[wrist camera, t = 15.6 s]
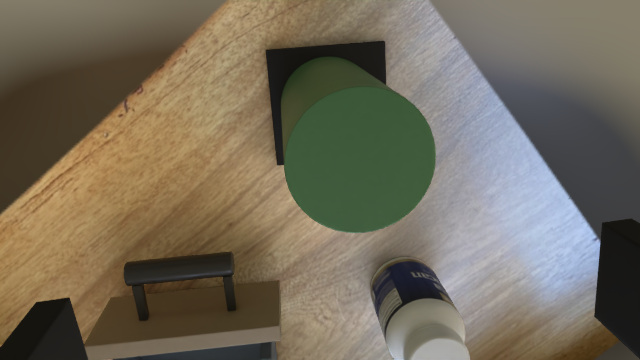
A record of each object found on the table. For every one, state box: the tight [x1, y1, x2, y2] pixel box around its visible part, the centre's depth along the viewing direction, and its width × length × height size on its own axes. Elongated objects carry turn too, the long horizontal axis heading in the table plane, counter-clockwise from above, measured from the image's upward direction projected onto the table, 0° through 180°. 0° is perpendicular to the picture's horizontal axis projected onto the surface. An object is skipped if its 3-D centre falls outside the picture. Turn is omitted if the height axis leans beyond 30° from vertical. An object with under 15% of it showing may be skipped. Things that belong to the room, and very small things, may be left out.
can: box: [281, 57, 436, 233], centre depth 28 cm, size 7×7×14 cm
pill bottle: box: [370, 257, 470, 360], centre depth 36 cm, size 5×5×10 cm
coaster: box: [266, 41, 386, 165], centre depth 35 cm, size 8×8×1 cm
